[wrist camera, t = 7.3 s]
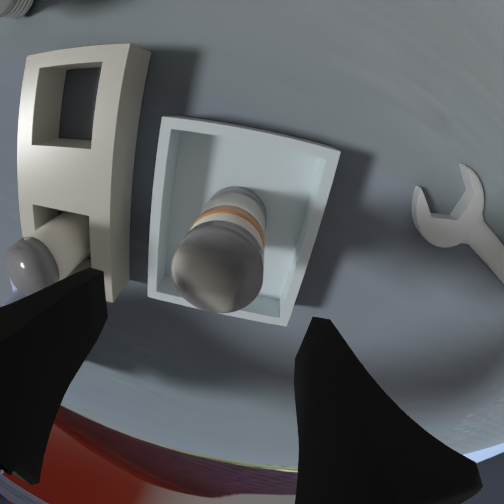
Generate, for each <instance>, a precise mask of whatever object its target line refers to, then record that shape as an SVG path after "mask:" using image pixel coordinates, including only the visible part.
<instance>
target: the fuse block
mask: <svg viewBox="0 0 504 504" xmlns="http://www.w3.org/2000/svg"><path fill="white" fill-rule="evenodd" d="M150 56H151V52H149V51H147V50H145V49H142V48H140V47H137V46H135V45H133V44H110V45H97V46H86V47H77V48H70V49H63V50H56V51H50V52H45V53H39V54H34V55H30V56H27V60H26V65H25V71H24V77H23V84H22V92H21V100H20V110H19V123H18V146H17V172H18V195H19V208H20V219H21V228H22V236H23V238H24V237H27V236H28V235H29V234H31V233H32V232H34V231H35V230H37V229H38V228H40V227H41V226H43V225H44V224H46V223H47V222H49V221H51V220H52V219H54V218H55V217H57V216H58V210H63V211H68V212H72V213H77V214H82V215H87V216H89V230H90V251H91V259H89V258H85V259H84V260H83V261H82V262H81V263H80V264H79V265H78V266H77V267H76V268H74V269H73V270H72V271H71V272H70V273H69V274H68V275H67V276H66V277H68V276H70V275H72V274H75V273H77V272H79V271H81V270H84V269H86V268H89V267H90V268H94V269H97V270H101V271H104V282H105V294H106V301H108V302H112V303H113V302H114V301H115V300H116V298H117V297H118V295H119V294H120V293H121V291H122V290H123V289H124V287H125V286H126V284H127V283H128V282H129V280H130V263H129V255H130V214H131V195H132V181H133V169H134V158H135V149H136V140H137V132H138V124H139V117H140V111H141V104H142V98H143V92H144V86H145V81H146V76H147V71H148V66H149V61H150ZM100 67H102V68H101V73H100V79H99V85H98V91H97V98H96V105H95V113H94V122H93V131H92V140H81V139H65V138H59V126H60V115H61V106H62V98H63V90H64V83H65V77H66V71H67V70H70V69H82V68H100ZM66 277H65V278H66Z"/></svg>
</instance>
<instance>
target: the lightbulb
mask: <svg viewBox="0 0 504 504" xmlns="http://www.w3.org/2000/svg"><path fill="white" fill-rule="evenodd" d="M33 1H34V0H0V17H4V18H5V17H6V18H11V19H12V18H13V19H19V18H21V17H23V16H24V15H25V14H26V13H27V12H28V10H29V9H30V7H31V6H32V3H33Z"/></svg>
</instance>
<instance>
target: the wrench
mask: <svg viewBox="0 0 504 504" xmlns="http://www.w3.org/2000/svg"><path fill="white" fill-rule="evenodd" d="M459 165H460V169H461V173H462V176H463V180H464V184H465V188H466V191H465V193H464V194H463V196H462V197H461V199H460V200H459V202H458V203H457V205H456V206H455V208H454V209H453V211H452V212H451V214H450V215H447V214H438V213H430V210H429V207H428V204H427V201H426V199H425V196H424V194H423V191H422V189H421V188H420V187H418V186H417V185H416V187H415V190H414V193H413V198H412V210H411V211H412V217H413V221H414V224H415V226H416V228H417V230H418V231H419V233H420V234H421V235H422V236H423V237H424V238H425V239H426V240H427V241H428V242H430V243H431V244H433V245H435V246H438V247H444V248H447V247H453V246H456V245H459V244H460V243H464V244H468V245H469V246H470V247H471V248H472V249H473V250H474V251H475V252H476V253H477V254H478V255H479V257H480V258H481V259H482V260H483V261H484V262H485V263H486V264H487V265H488V266H489V268H490V269H491V270H492V271H493V272H494V273H495V274H496V276H497V277H498V278H499V279H500V280H501V282H502V283H503V284H504V246H503V244H502V243H501V242H500V240H499V239H498V238H497V237H496V235H495V234H494V233H493V232H492V230H491V229H490V228H489V227H488V225H487V224H486V223H485V222H484V218H483V214H482V213H483V209H484V193H483V189H482V185H481V182H480V180H479V178H478V177H477V175H476V174H475V172H474V171H473V170H471V169H470V168H469V167H468V166H466V165H464V164H461V163H459Z"/></svg>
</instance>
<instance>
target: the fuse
mask: <svg viewBox="0 0 504 504" xmlns="http://www.w3.org/2000/svg"><path fill="white" fill-rule="evenodd" d="M90 254H91V251H90V230H89V216H87V215H82V214H77V213H72V212H68V211H64V212H62V213H61V214H60V215H58V216H57V217H55V218H54V219H52V220H51V221H49V222H47V223H46V224H44V225H43V226H41V227H40V228H38V229H37V230H35V231H34V232H32V233H31V234H29V235H28V236H27V237H24V238H22V239H21V240H19V241H18V242H17V243H15V244H14V245H12V246H11V247H10V248H9V249H8V250H7V252H6V257H5V262H6V268H7V272H8V275H9V277H10V279H11V281H12V283H13V284H14V286H15V287H16V289H17V290H18V291H19V292H20V293H21V294H22V295H23V296H24V297H26V296H28V295H31V294H33V293H35V292H37V291H40V290H42V289H44V288H46V287H48V286H50V285H52V284H54V283H56V282H58V281H60V280H62V279H64V278H65V277H66V276H67V275H68V274H69V273H70V272H71V271H72V270H73V269H74V268H76V267H77V266H78V265H79V264H80V263H81V262H82V261H83V260H84V259H85V258H86V257H87V256H89V255H90Z"/></svg>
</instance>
